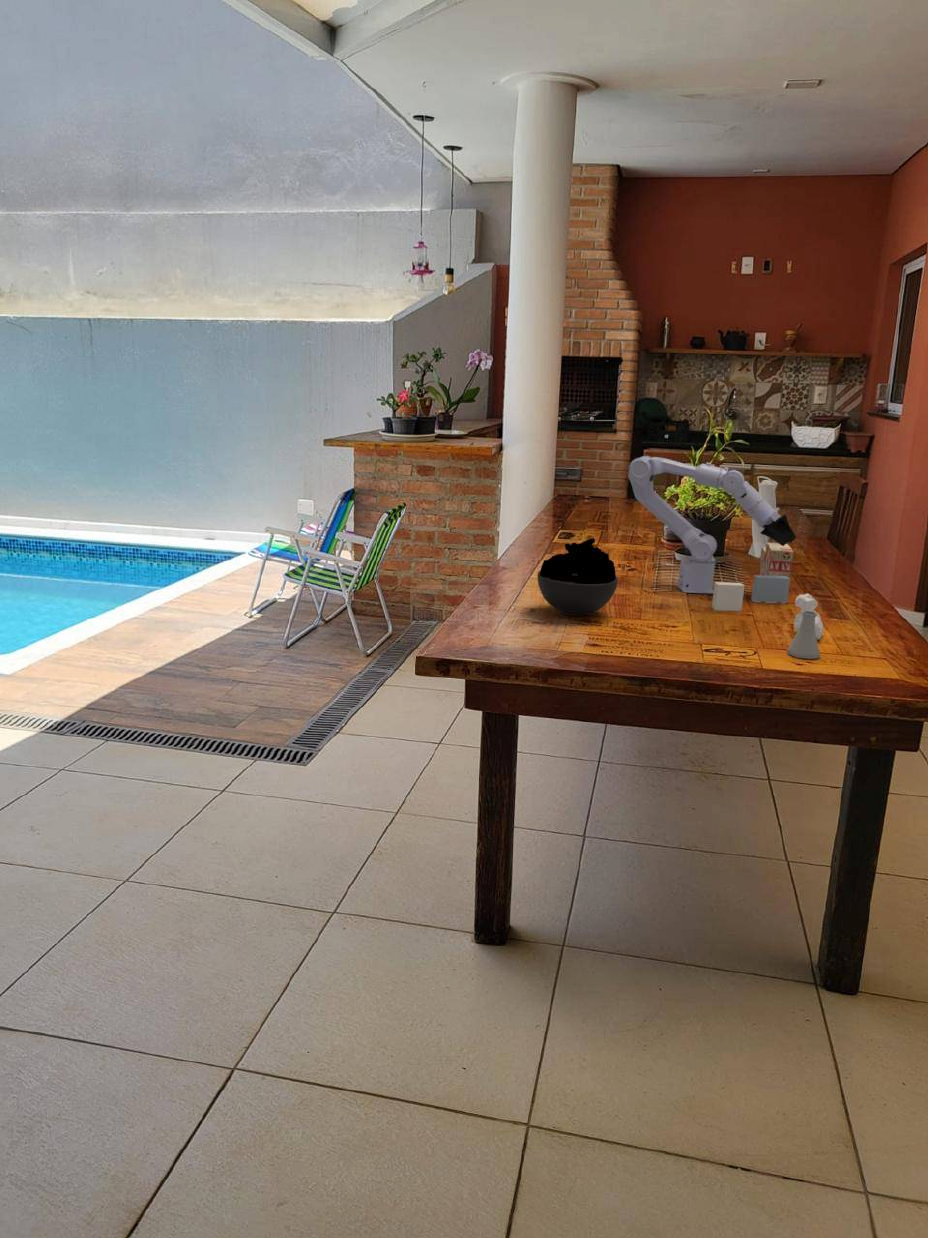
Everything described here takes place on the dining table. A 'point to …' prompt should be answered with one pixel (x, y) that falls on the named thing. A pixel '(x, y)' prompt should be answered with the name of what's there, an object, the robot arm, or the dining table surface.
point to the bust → (808, 605)
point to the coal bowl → (578, 579)
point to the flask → (805, 638)
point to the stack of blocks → (776, 560)
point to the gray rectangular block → (770, 589)
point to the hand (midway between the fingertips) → (789, 542)
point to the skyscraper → (759, 539)
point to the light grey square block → (728, 596)
